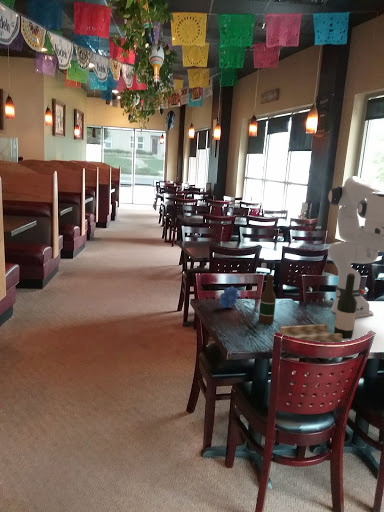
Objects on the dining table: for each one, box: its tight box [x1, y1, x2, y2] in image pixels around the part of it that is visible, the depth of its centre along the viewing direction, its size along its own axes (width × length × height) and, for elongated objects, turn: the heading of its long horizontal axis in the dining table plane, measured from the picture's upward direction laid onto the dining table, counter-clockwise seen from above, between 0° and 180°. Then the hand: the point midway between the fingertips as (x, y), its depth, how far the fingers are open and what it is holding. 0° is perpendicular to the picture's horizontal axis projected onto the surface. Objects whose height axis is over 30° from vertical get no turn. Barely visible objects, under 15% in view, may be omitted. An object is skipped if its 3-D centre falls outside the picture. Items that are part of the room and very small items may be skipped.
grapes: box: [219, 285, 239, 309], centre depth 228 cm, size 12×7×12 cm, turn 116°
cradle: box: [279, 323, 343, 343], centre depth 192 cm, size 24×13×4 cm, turn 107°
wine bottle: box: [333, 273, 357, 340], centre depth 195 cm, size 8×8×30 cm
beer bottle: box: [257, 274, 277, 325], centre depth 208 cm, size 8×8×24 cm
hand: (370, 258), depth 193 cm, fingers closed
